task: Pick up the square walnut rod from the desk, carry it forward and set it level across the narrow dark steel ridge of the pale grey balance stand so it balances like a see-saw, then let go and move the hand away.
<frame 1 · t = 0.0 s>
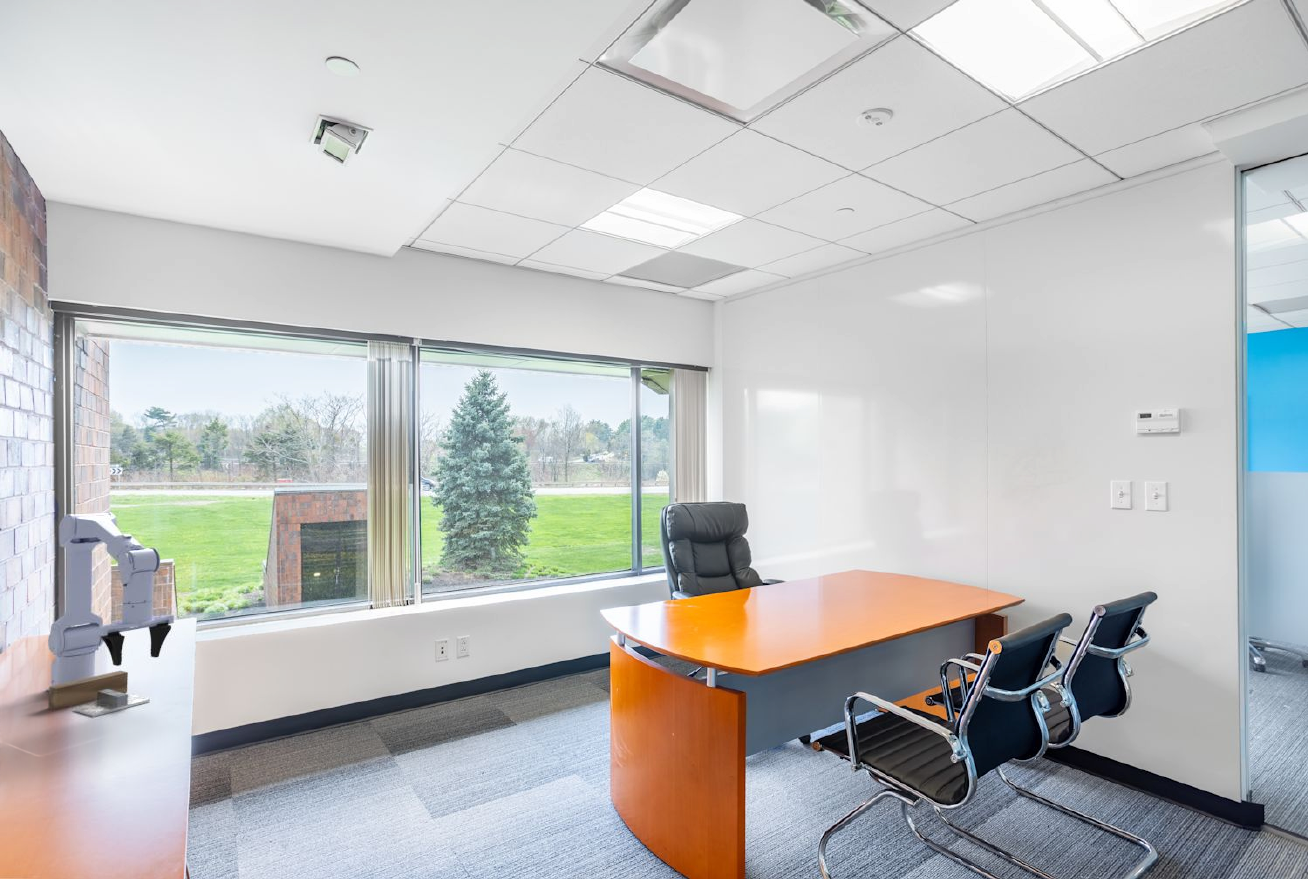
hand: (136, 660, 156), 10 cm above the table, tool pointing down, fingers open, 7 cm apart
balance stand: (112, 706, 155), on the table
walnut rod: (89, 700, 159), on the table
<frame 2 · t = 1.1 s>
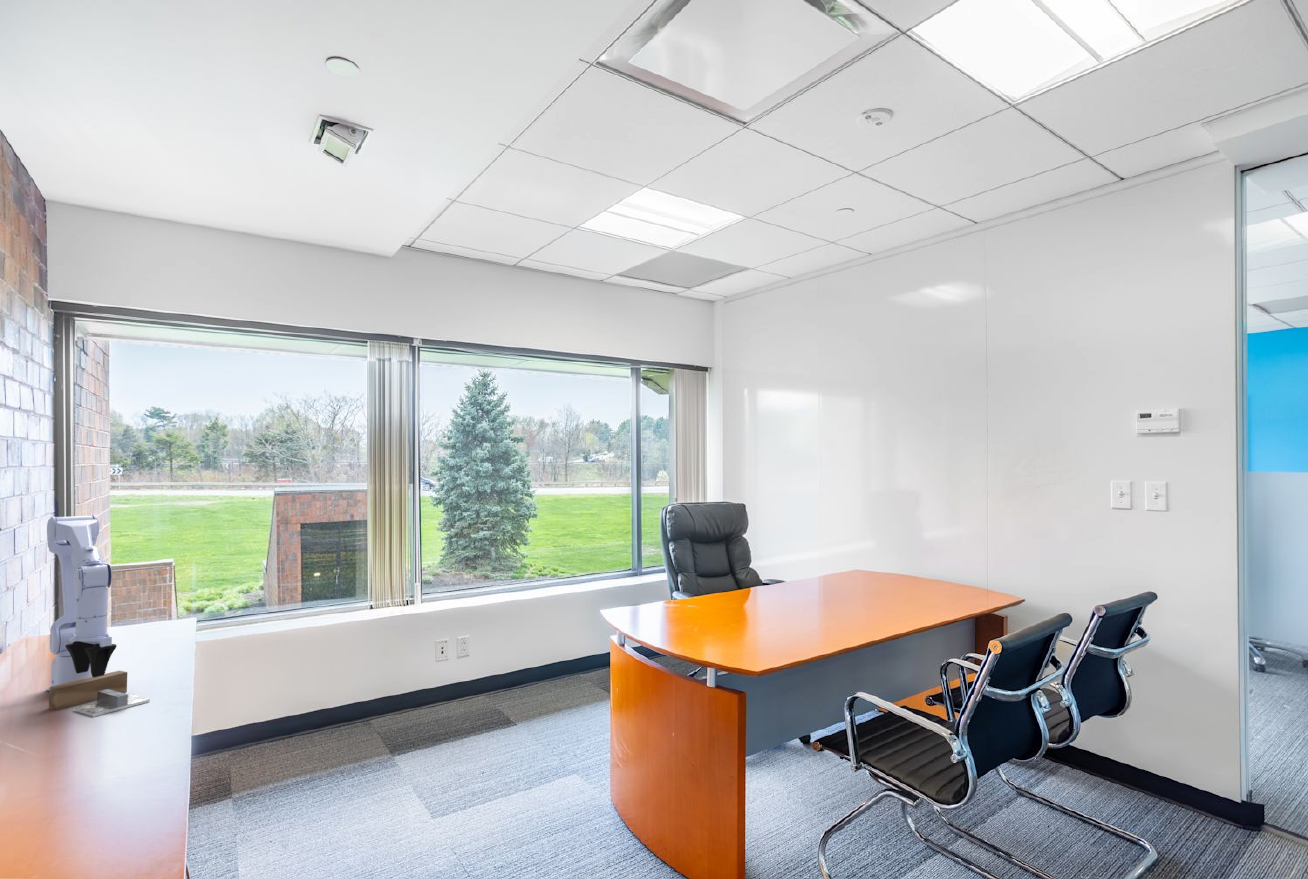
hand: (90, 674, 160), 6 cm above the table, tool pointing down, fingers open, 7 cm apart
nothing on the table moved.
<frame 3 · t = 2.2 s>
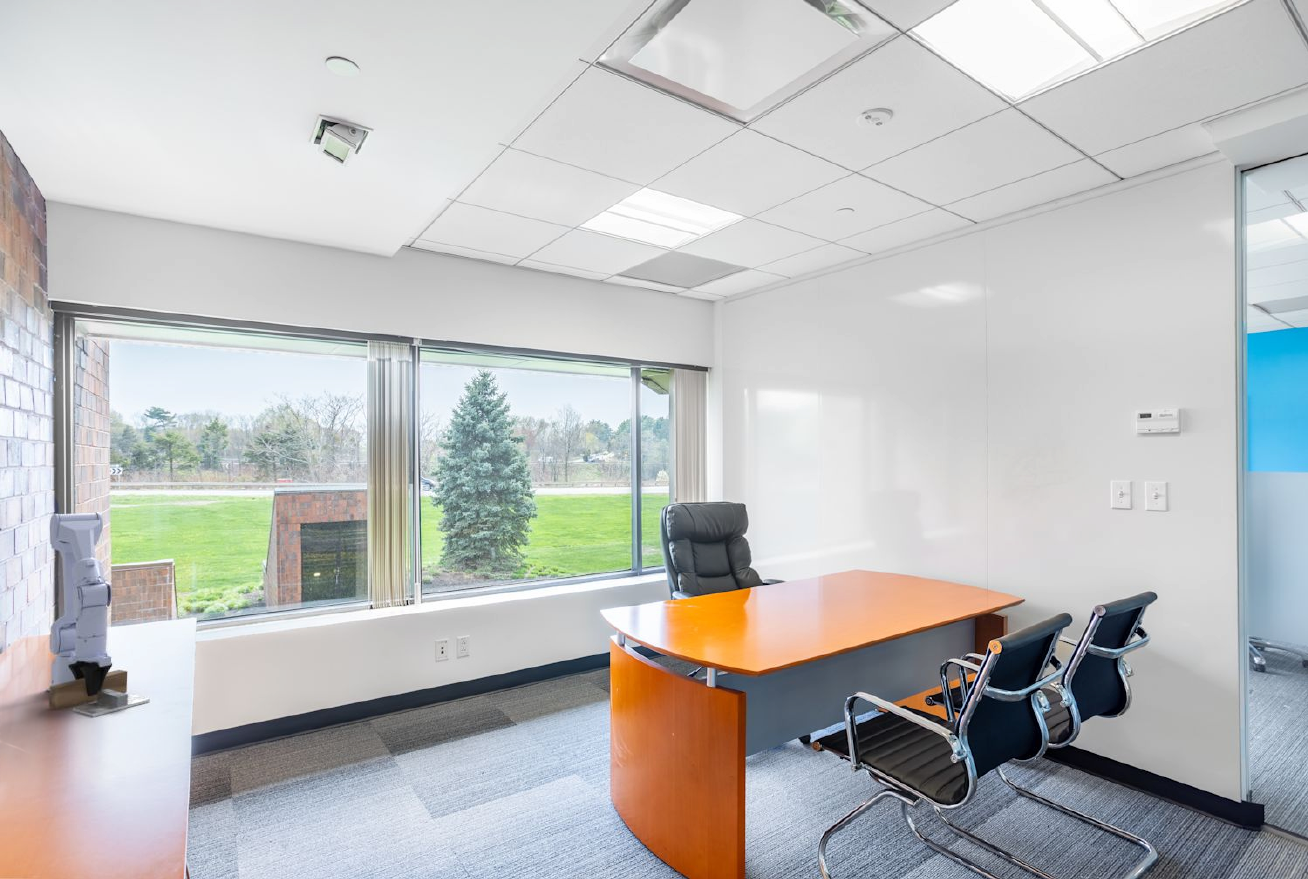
hand: (89, 693, 159), 1 cm above the table, tool pointing down, fingers closed on walnut rod, 4 cm apart
walnut rod: (89, 699, 159), on the table, touching gripper
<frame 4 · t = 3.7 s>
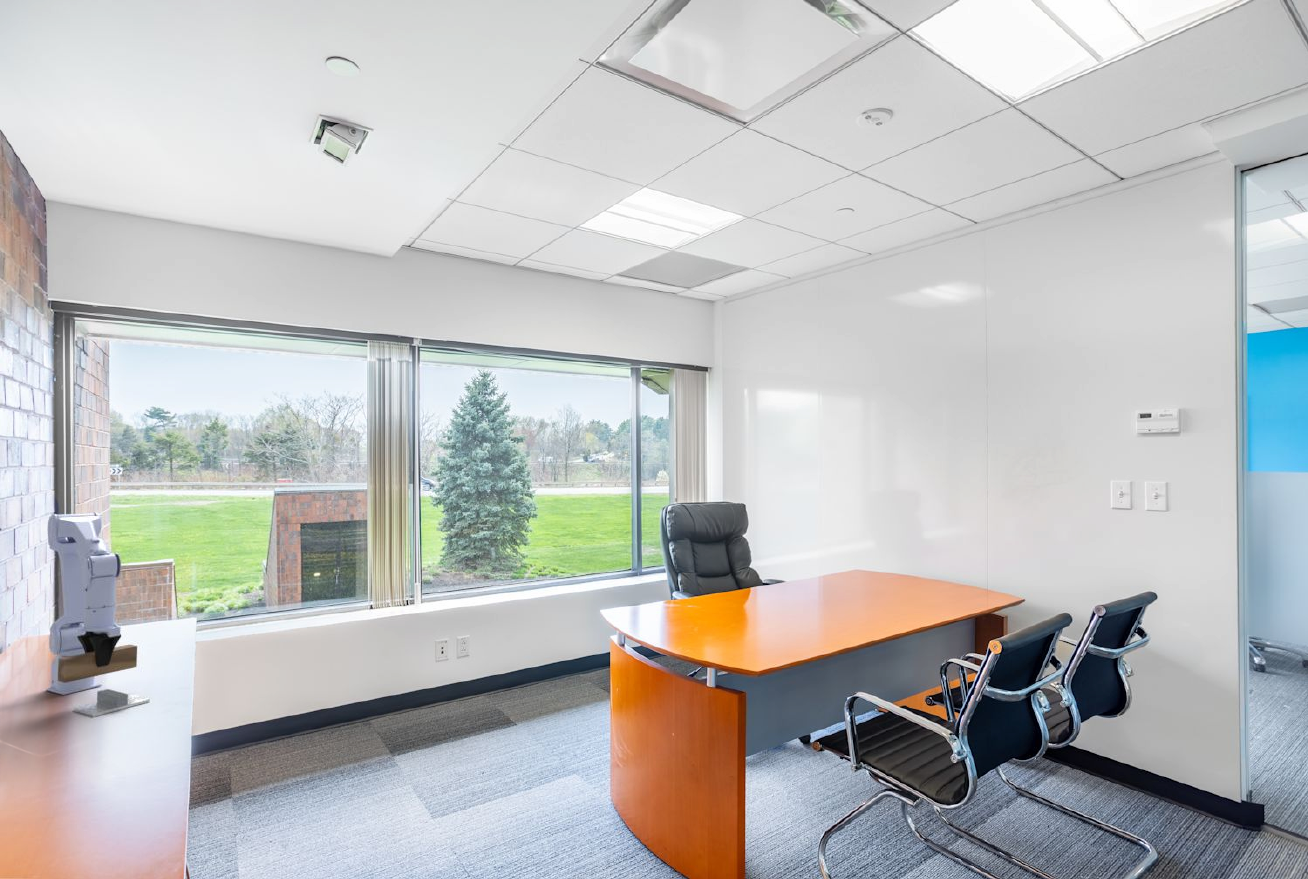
hand: (98, 665, 158), 9 cm above the table, tool pointing down, fingers closed on walnut rod, 3 cm apart
walnut rod: (98, 673, 158), point 7 cm above the table, touching gripper
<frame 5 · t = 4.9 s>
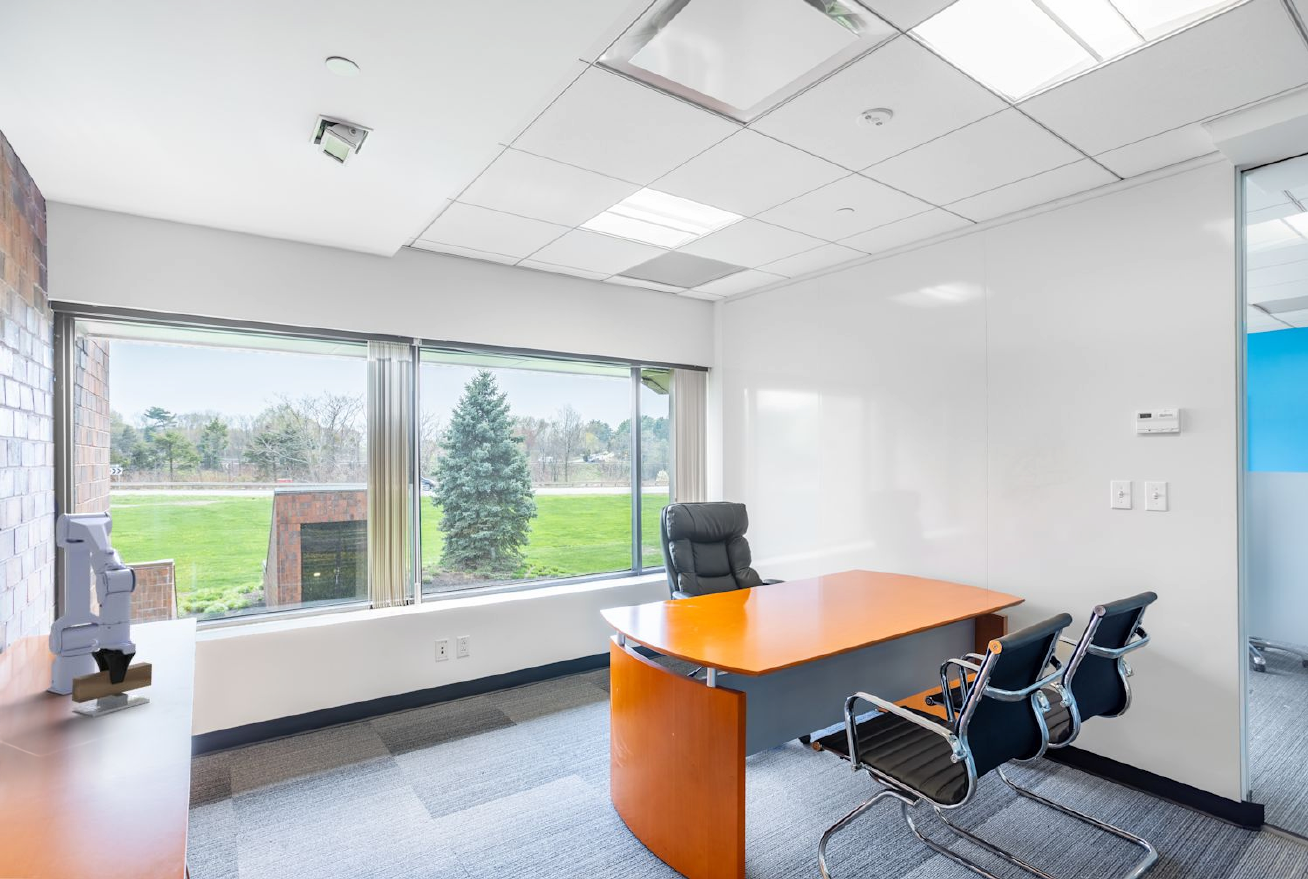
hand: (112, 682, 155), 5 cm above the table, tool pointing down, fingers closed on walnut rod, 3 cm apart
walnut rod: (113, 692, 155), point 3 cm above the table, touching balance stand, gripper
when the fingers open (5 cm above the table, at t = 5.2 s): walnut rod stays where it is, resting on balance stand.
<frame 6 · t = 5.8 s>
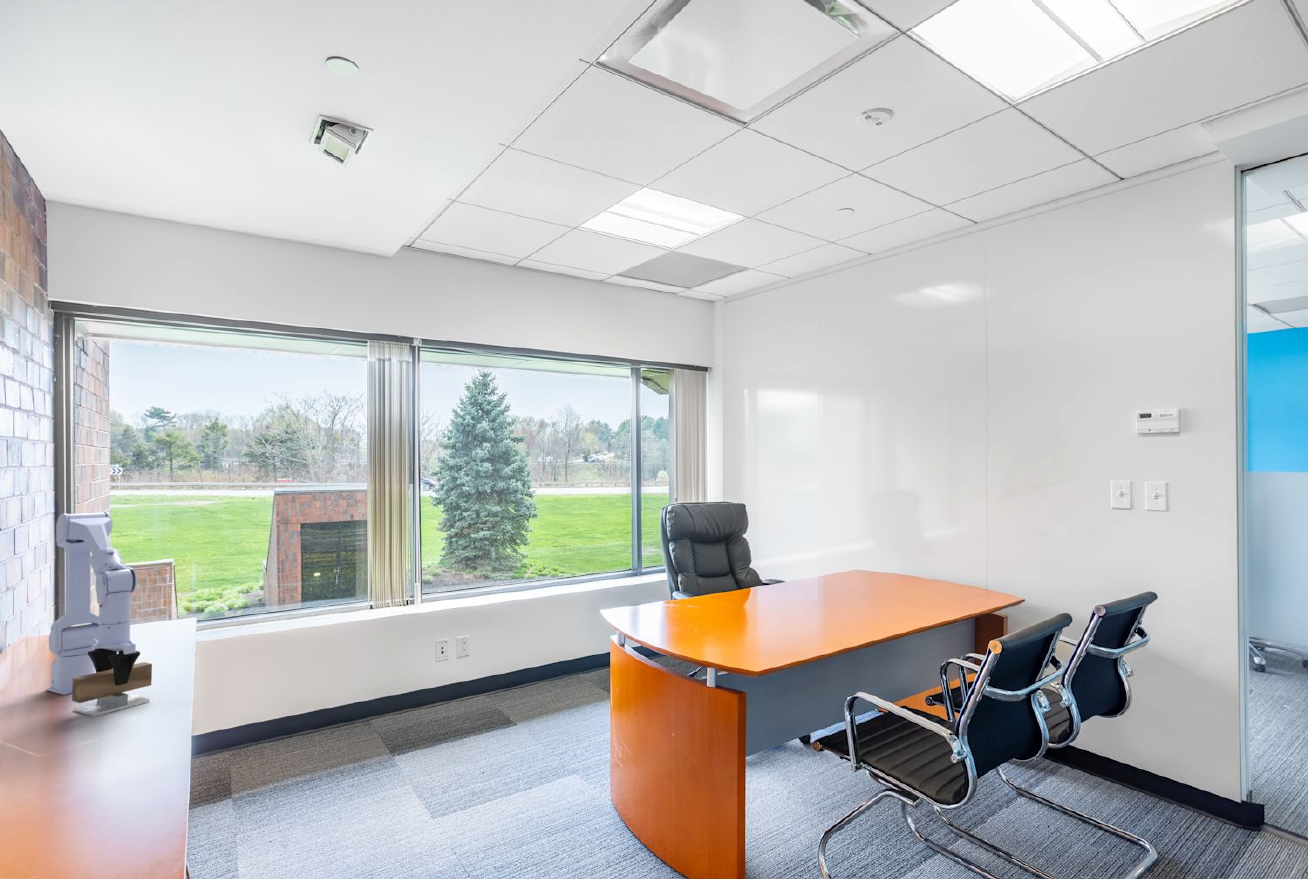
hand: (112, 682, 155), 5 cm above the table, tool pointing down, fingers open, 7 cm apart
walnut rod: (113, 692, 155), point 3 cm above the table, touching balance stand
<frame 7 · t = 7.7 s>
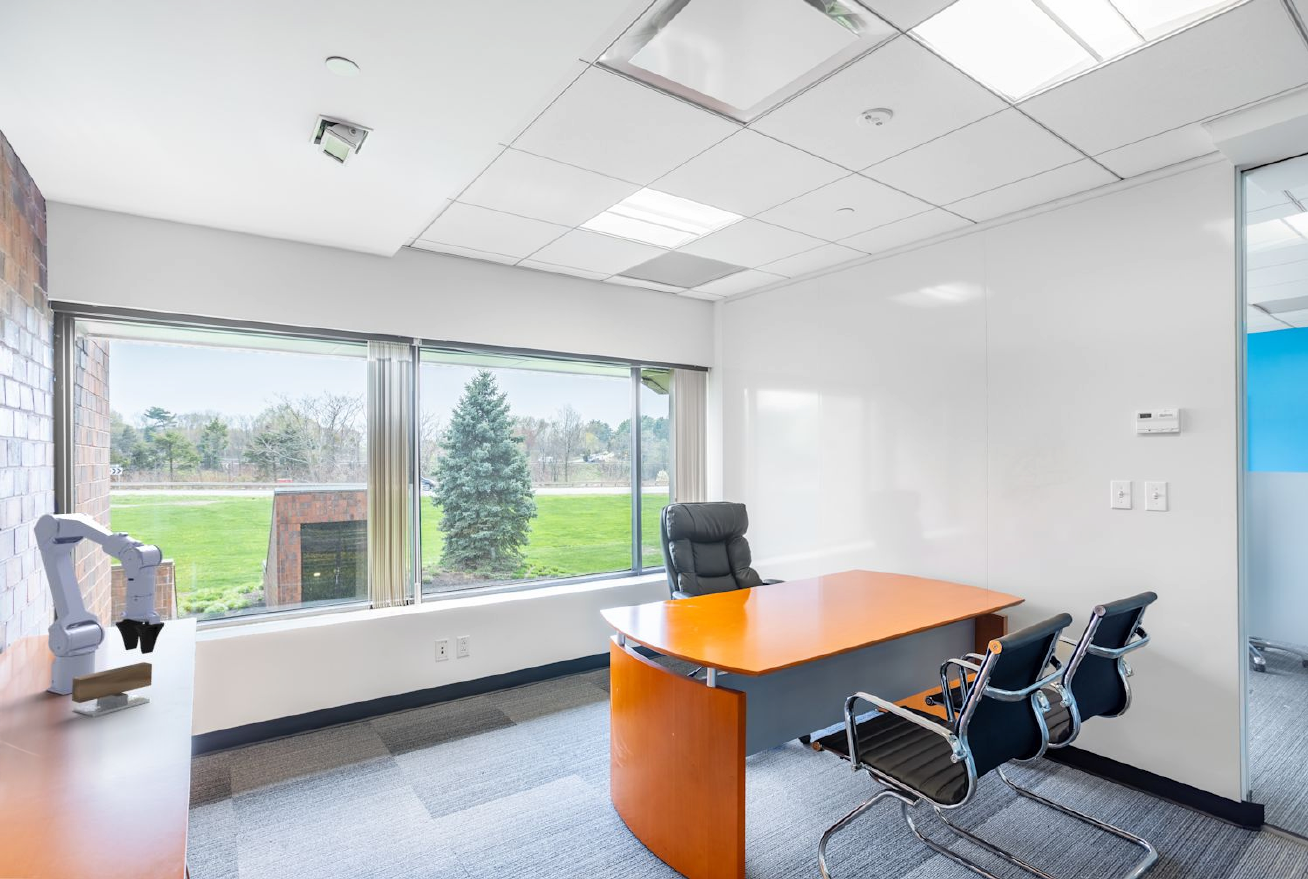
hand: (139, 651, 165), 10 cm above the table, tool pointing down, fingers open, 7 cm apart
nothing on the table moved.
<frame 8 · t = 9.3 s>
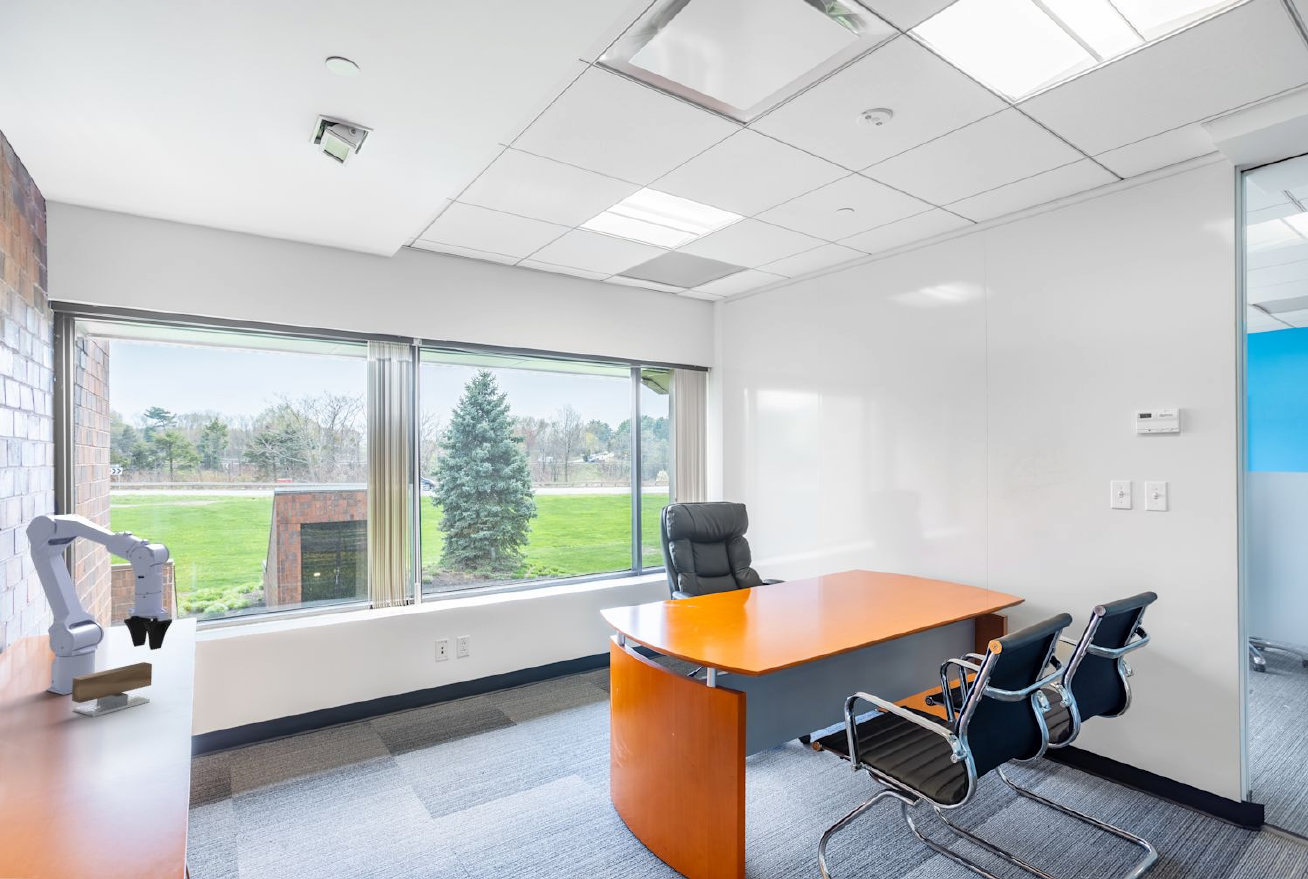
hand: (147, 647, 169), 10 cm above the table, tool pointing down, fingers open, 7 cm apart
nothing on the table moved.
at the end: walnut rod 0.1 cm off-centre on the balance stand, point 3.0 cm above the balance stand's base; walnut rod tilted 0°; the gripper is holding nothing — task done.
